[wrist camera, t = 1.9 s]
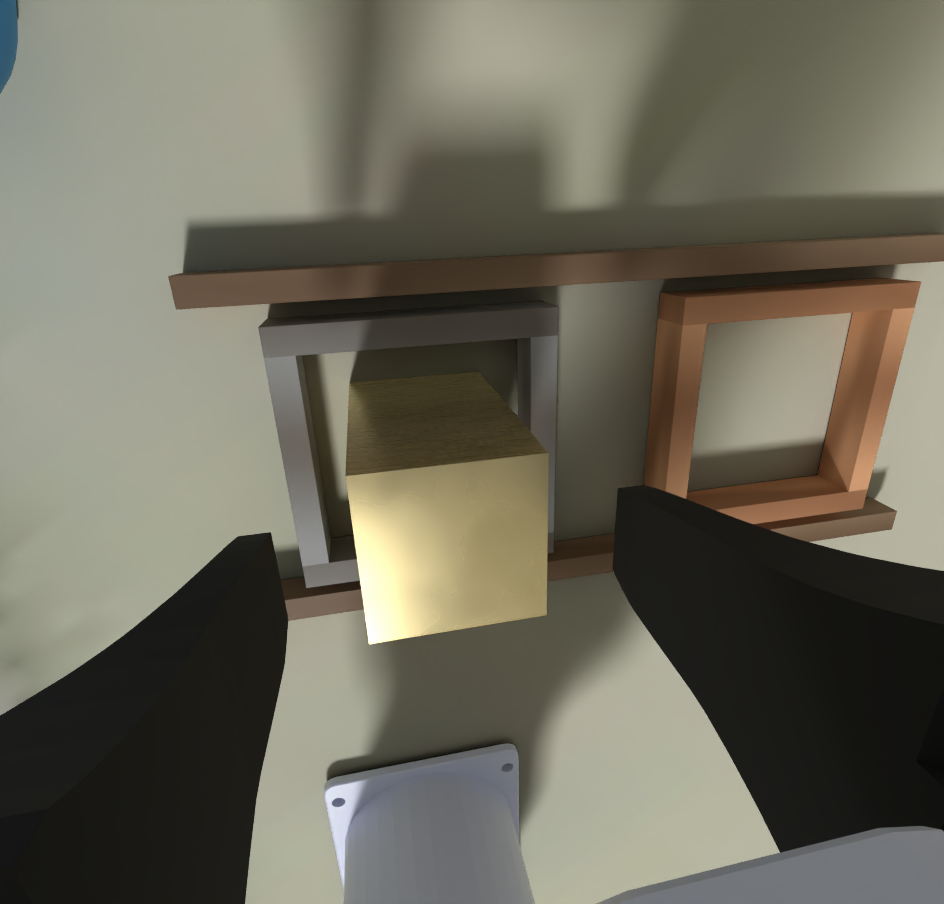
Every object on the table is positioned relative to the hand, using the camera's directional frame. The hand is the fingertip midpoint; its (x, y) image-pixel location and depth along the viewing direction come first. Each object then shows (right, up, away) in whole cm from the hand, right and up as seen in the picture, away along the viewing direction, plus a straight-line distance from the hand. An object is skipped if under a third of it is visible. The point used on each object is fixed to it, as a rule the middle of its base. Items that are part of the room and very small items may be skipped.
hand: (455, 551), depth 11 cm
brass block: (-1, +3, +6) cm, 7 cm away
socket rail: (+5, +3, +7) cm, 9 cm away
